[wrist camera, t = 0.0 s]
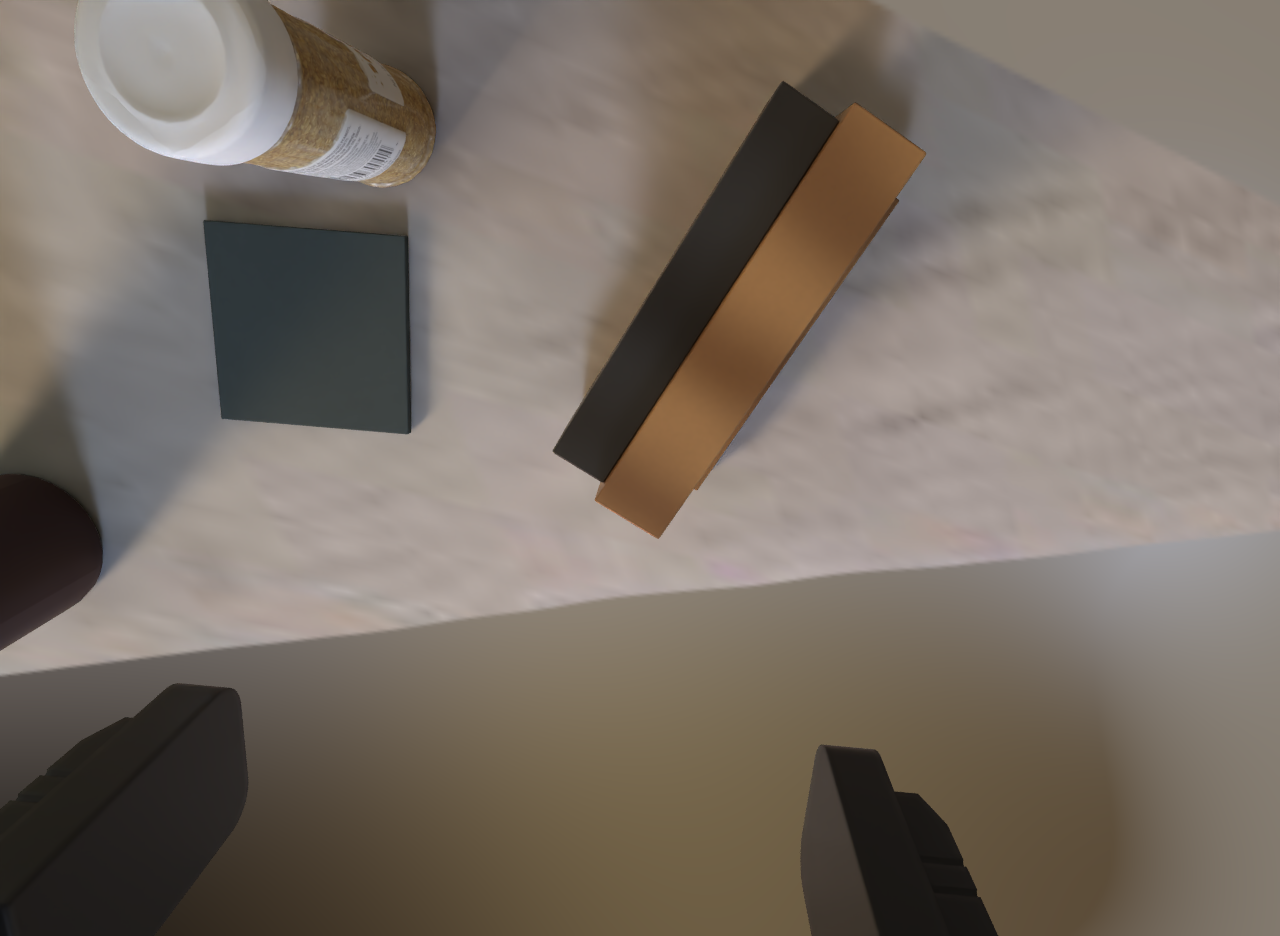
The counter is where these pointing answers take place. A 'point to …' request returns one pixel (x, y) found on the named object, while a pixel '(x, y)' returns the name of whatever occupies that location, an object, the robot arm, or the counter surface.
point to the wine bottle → (42, 554)
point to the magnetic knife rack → (735, 302)
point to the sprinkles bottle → (250, 90)
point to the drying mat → (310, 326)
